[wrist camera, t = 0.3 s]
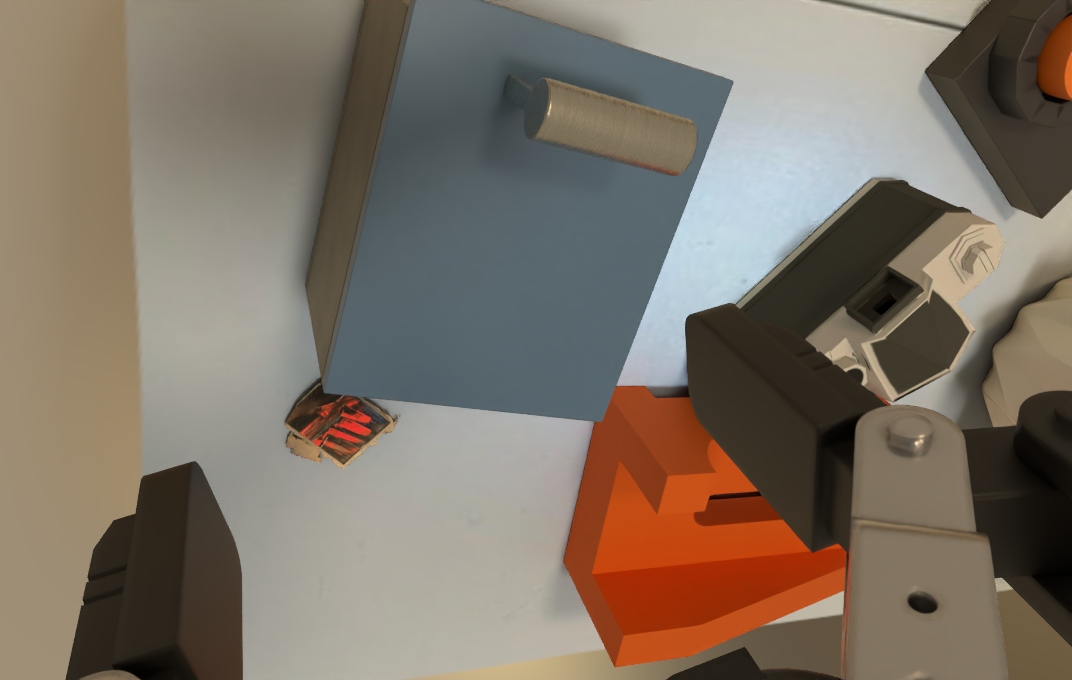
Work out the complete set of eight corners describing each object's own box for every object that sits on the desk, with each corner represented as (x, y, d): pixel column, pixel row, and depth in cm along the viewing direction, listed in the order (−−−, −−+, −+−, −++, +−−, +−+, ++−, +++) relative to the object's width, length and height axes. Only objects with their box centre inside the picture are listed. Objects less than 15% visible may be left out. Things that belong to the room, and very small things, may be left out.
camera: (739, 432, 51) (838, 540, 43) (664, 355, 46) (758, 458, 38) (939, 253, 49) (1082, 329, 41) (881, 154, 45) (1030, 216, 36)
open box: (369, -22, 33) (408, 4, 26) (620, 56, 38) (714, 98, 30) (304, 285, 38) (321, 381, 31) (532, 321, 43) (594, 412, 35)
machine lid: (414, -22, 25) (453, -2, 21) (723, 77, 30) (809, 110, 25) (321, 382, 31) (336, 468, 26) (595, 412, 35) (647, 489, 31)
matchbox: (316, 370, 40) (316, 375, 40) (405, 407, 43) (407, 412, 42) (269, 443, 41) (269, 449, 41) (359, 475, 44) (360, 481, 43)
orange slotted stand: (563, 561, 52) (614, 667, 45) (602, 386, 46) (668, 475, 39) (802, 538, 58) (879, 627, 51) (861, 381, 52) (958, 457, 45)
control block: (920, 65, 43) (978, 80, 39) (1053, -76, 41) (1125, -73, 38) (1012, 207, 49) (1068, 230, 46) (1129, 89, 48) (1196, 104, 44)
